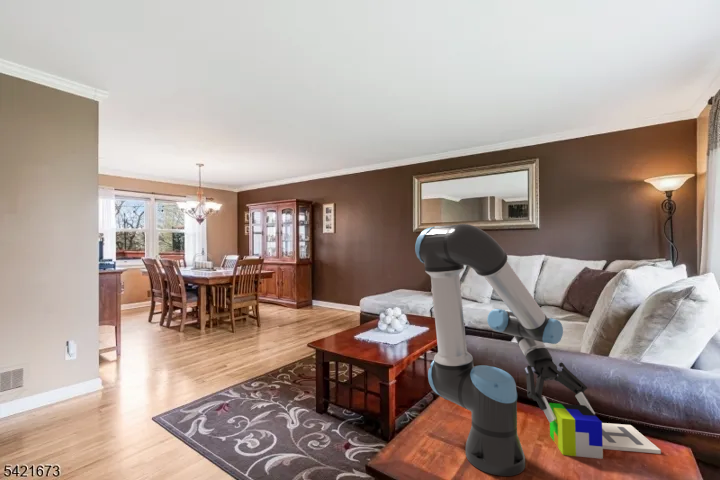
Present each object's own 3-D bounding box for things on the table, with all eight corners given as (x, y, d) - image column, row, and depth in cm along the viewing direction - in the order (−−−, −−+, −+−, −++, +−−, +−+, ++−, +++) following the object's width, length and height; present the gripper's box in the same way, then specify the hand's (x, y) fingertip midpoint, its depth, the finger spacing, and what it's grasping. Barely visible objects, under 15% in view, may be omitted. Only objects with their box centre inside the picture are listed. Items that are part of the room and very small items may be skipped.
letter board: (601, 448, 98) (601, 444, 98) (579, 424, 112) (579, 420, 112) (660, 453, 96) (660, 449, 96) (630, 428, 109) (630, 424, 109)
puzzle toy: (602, 459, 94) (601, 421, 94) (562, 455, 95) (562, 418, 96) (586, 439, 103) (585, 405, 104) (550, 435, 105) (549, 402, 106)
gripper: (560, 354, 122) (599, 418, 107) (498, 360, 116) (529, 427, 102) (572, 344, 117) (615, 408, 102) (508, 349, 111) (542, 418, 96)
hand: (572, 418), depth 102 cm, fingers open, 13 cm apart
